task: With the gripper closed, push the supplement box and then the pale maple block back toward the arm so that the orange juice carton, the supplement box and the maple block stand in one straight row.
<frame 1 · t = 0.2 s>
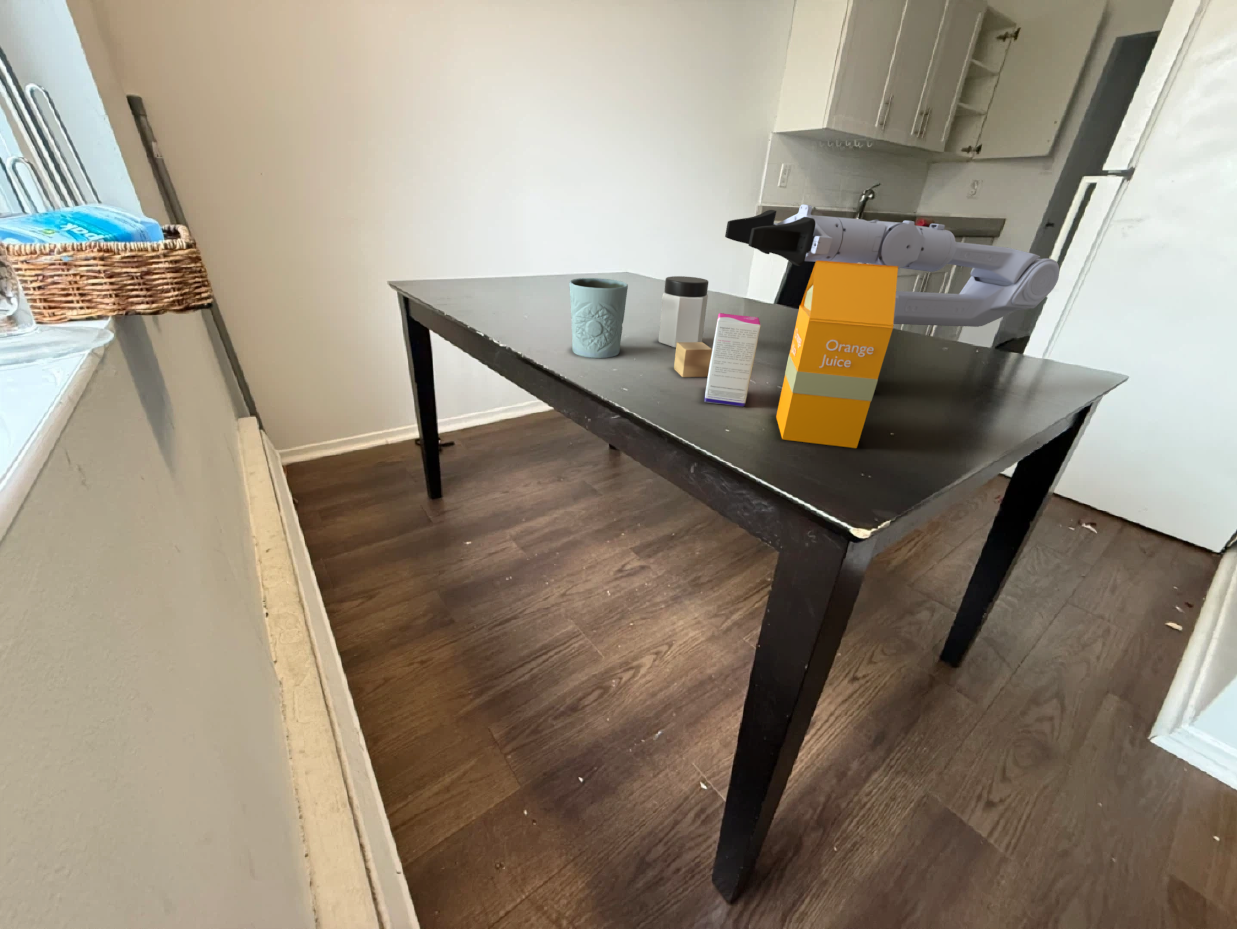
hand: (738, 233, 67), 22 cm above the table, tool horizontal, fingers open, 7 cm apart
drinking glass: (596, 352, 92), on the table
maple block: (690, 372, 84), on the table
orange juice: (813, 432, 64), on the table
jar: (680, 343, 101), on the table
supplement box: (725, 399, 74), on the table
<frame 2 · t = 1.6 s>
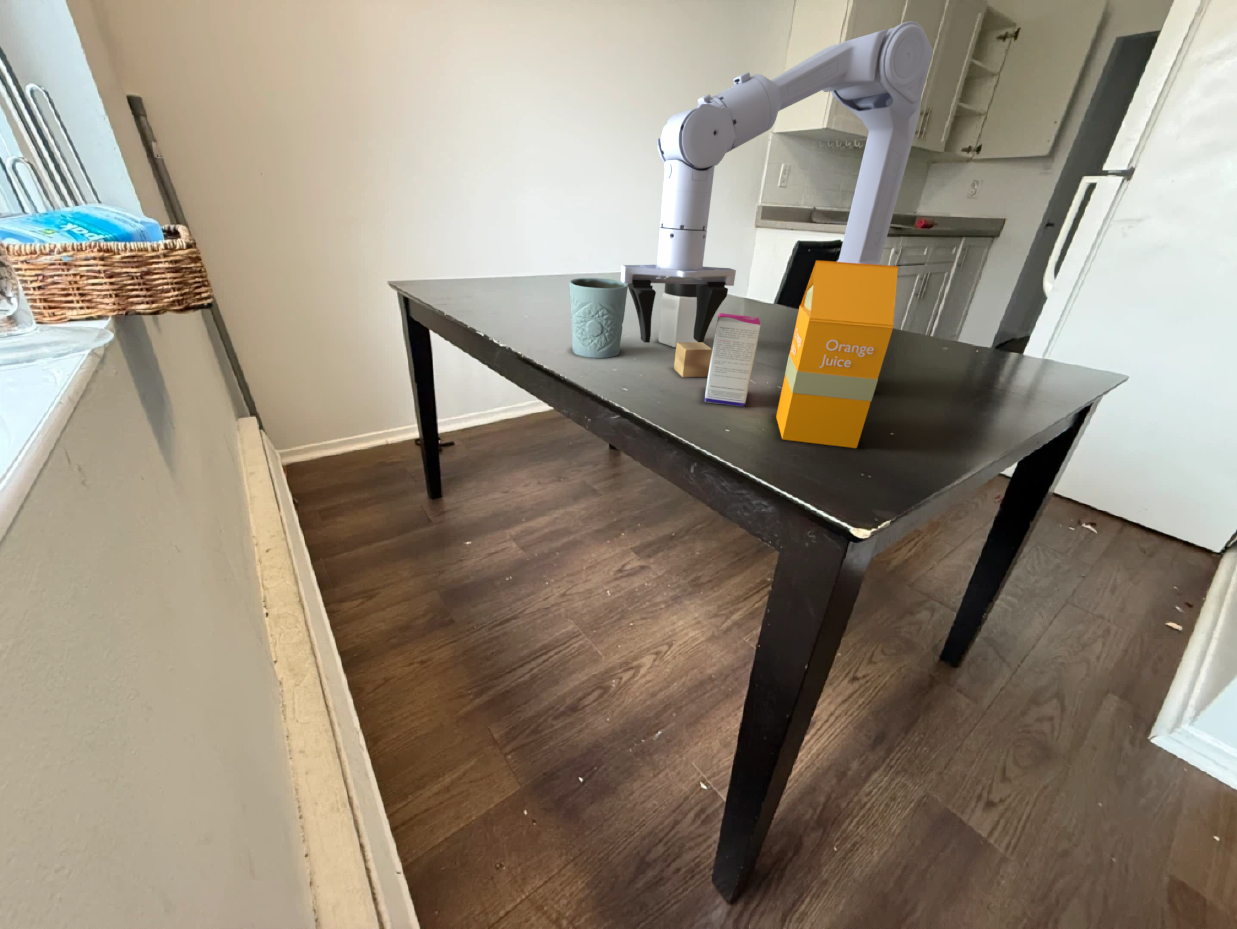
hand: (672, 340, 68), 8 cm above the table, tool pointing down, fingers open, 7 cm apart
nothing on the table moved.
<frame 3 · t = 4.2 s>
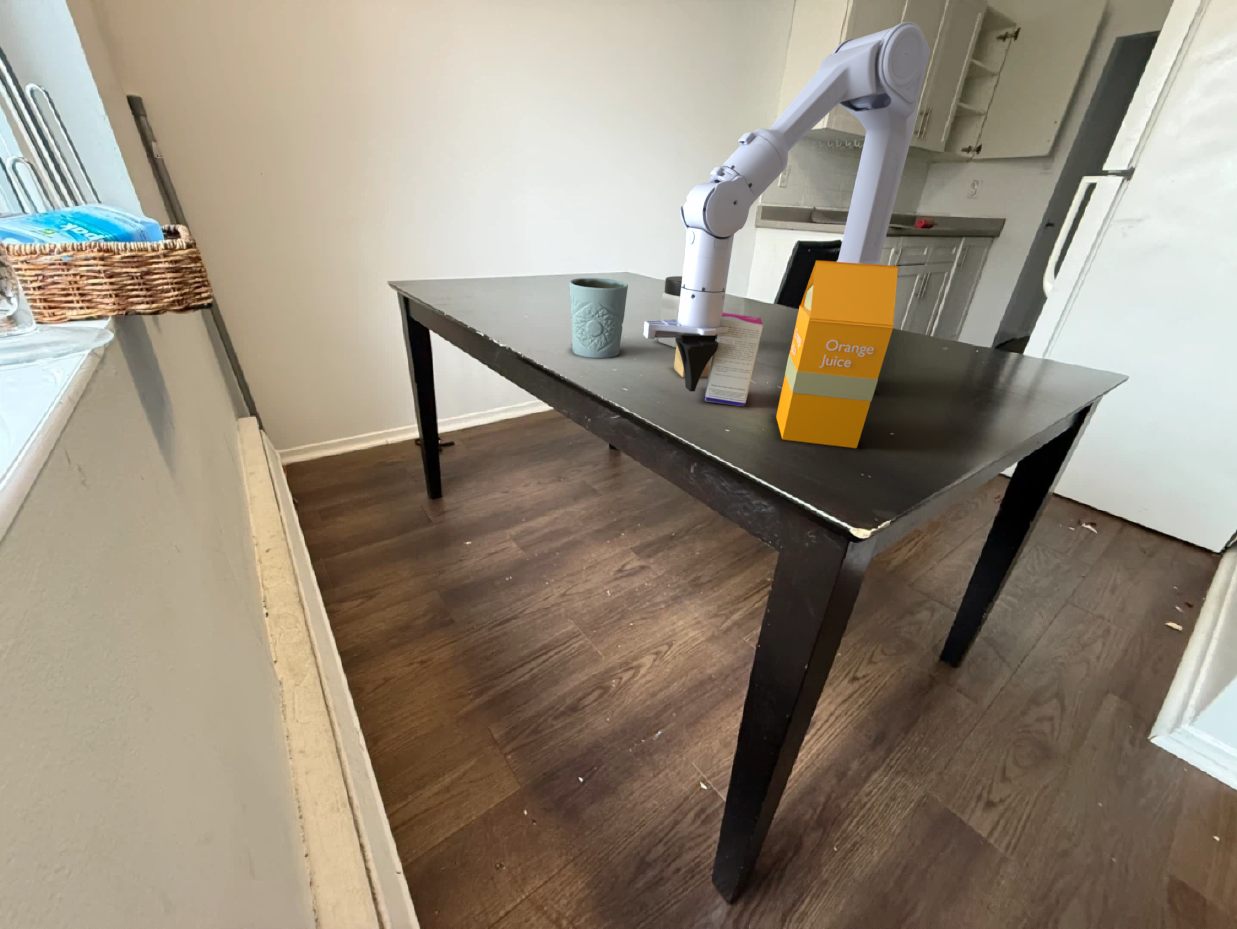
hand: (690, 389, 72), 2 cm above the table, tool pointing down, fingers closed
supplement box: (725, 399, 74), on the table, touching gripper
everything else where it was.
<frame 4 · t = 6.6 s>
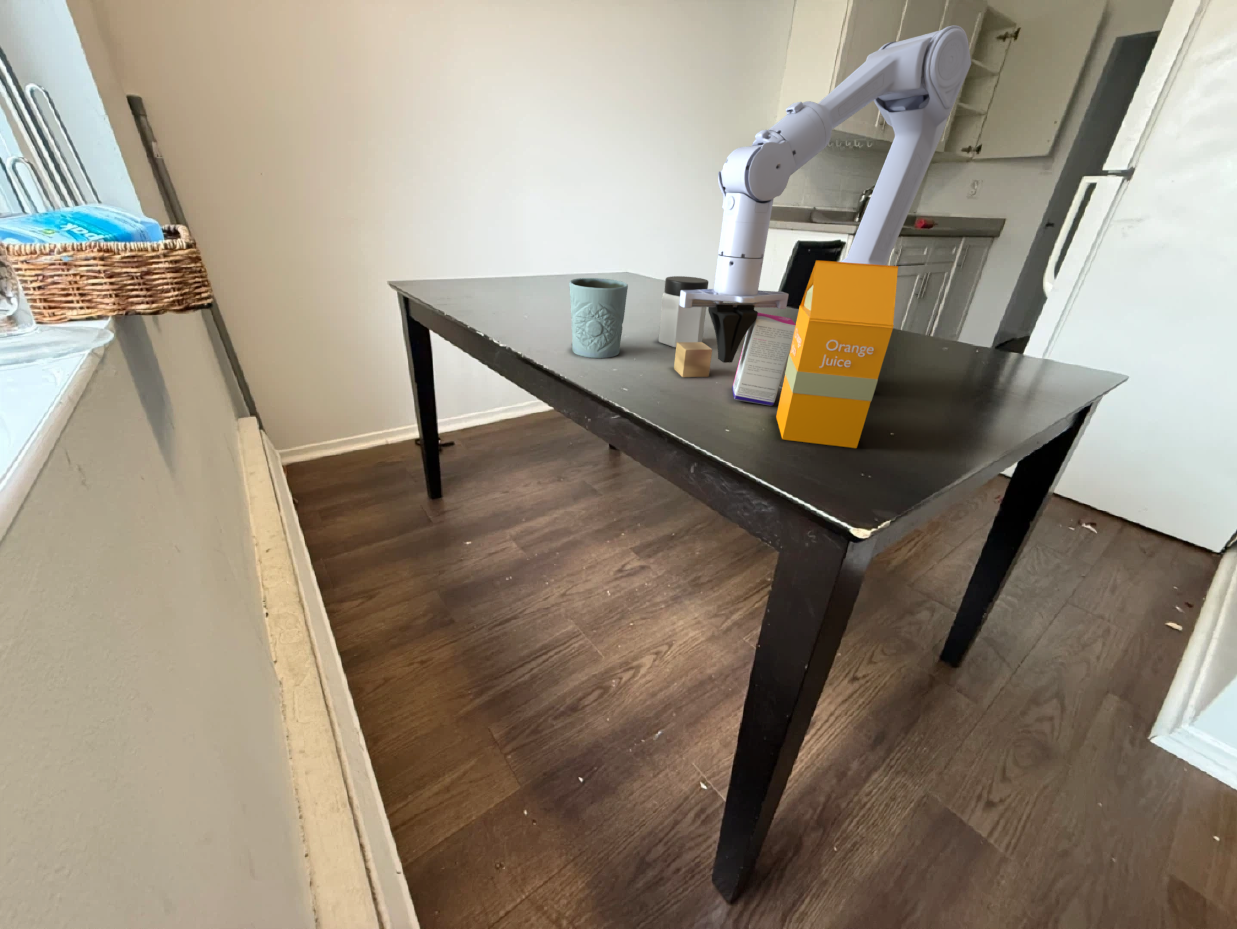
hand: (725, 360, 71), 6 cm above the table, tool pointing down, fingers closed
supplement box: (752, 397, 74), on the table, touching gripper
everything else where it was.
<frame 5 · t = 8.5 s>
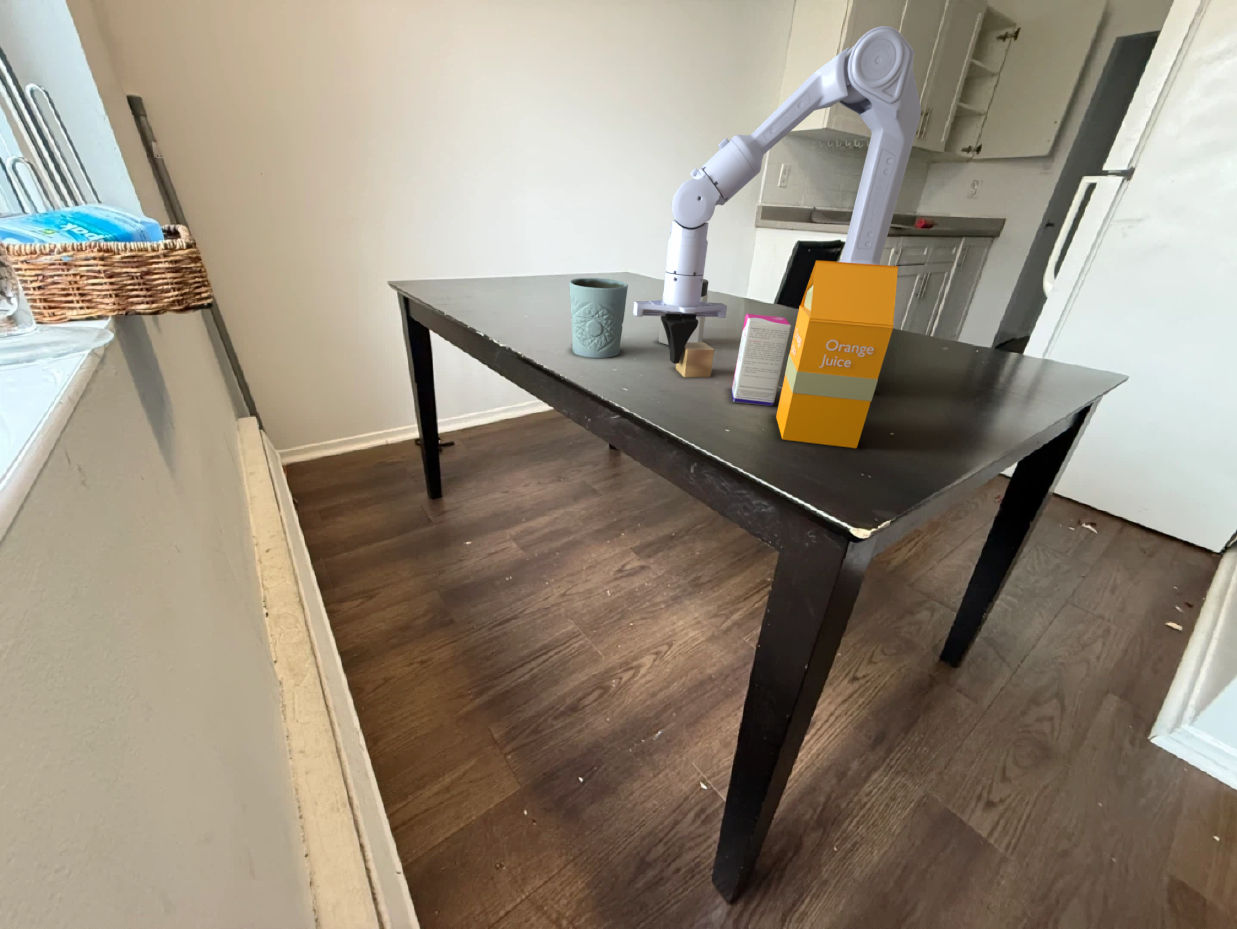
hand: (674, 361, 82), 2 cm above the table, tool pointing down, fingers closed
maple block: (692, 373, 84), on the table, touching gripper
supplement box: (751, 399, 74), on the table
everything else where it was.
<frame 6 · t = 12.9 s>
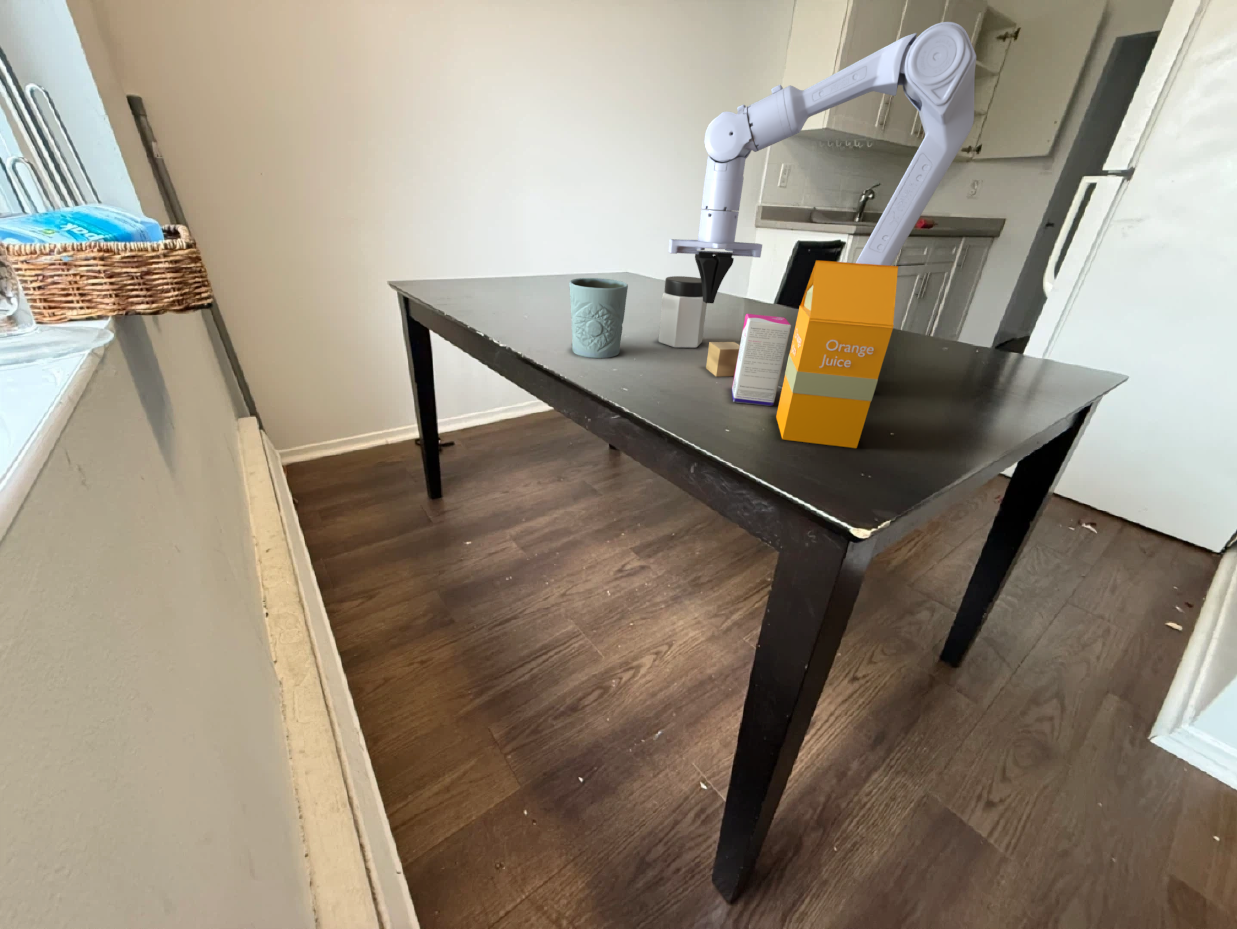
hand: (708, 302, 84), 10 cm above the table, tool pointing down, fingers closed
maple block: (723, 372, 85), on the table
everything else where it was.
at the end: supplement box 1.7 cm from the target spot on the table beside the orange juice, on the table; maple block 0.6 cm from the target spot on the table beside the supplement box, on the table; supplement box tilted 0° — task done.
